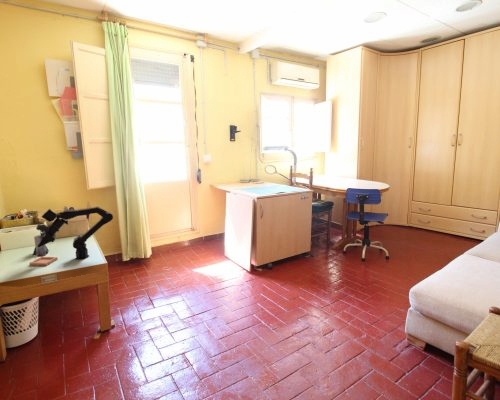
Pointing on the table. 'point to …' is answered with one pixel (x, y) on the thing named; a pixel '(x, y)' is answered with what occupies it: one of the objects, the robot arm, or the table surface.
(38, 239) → the canister
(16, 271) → the table surface
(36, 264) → the tray
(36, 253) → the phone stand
